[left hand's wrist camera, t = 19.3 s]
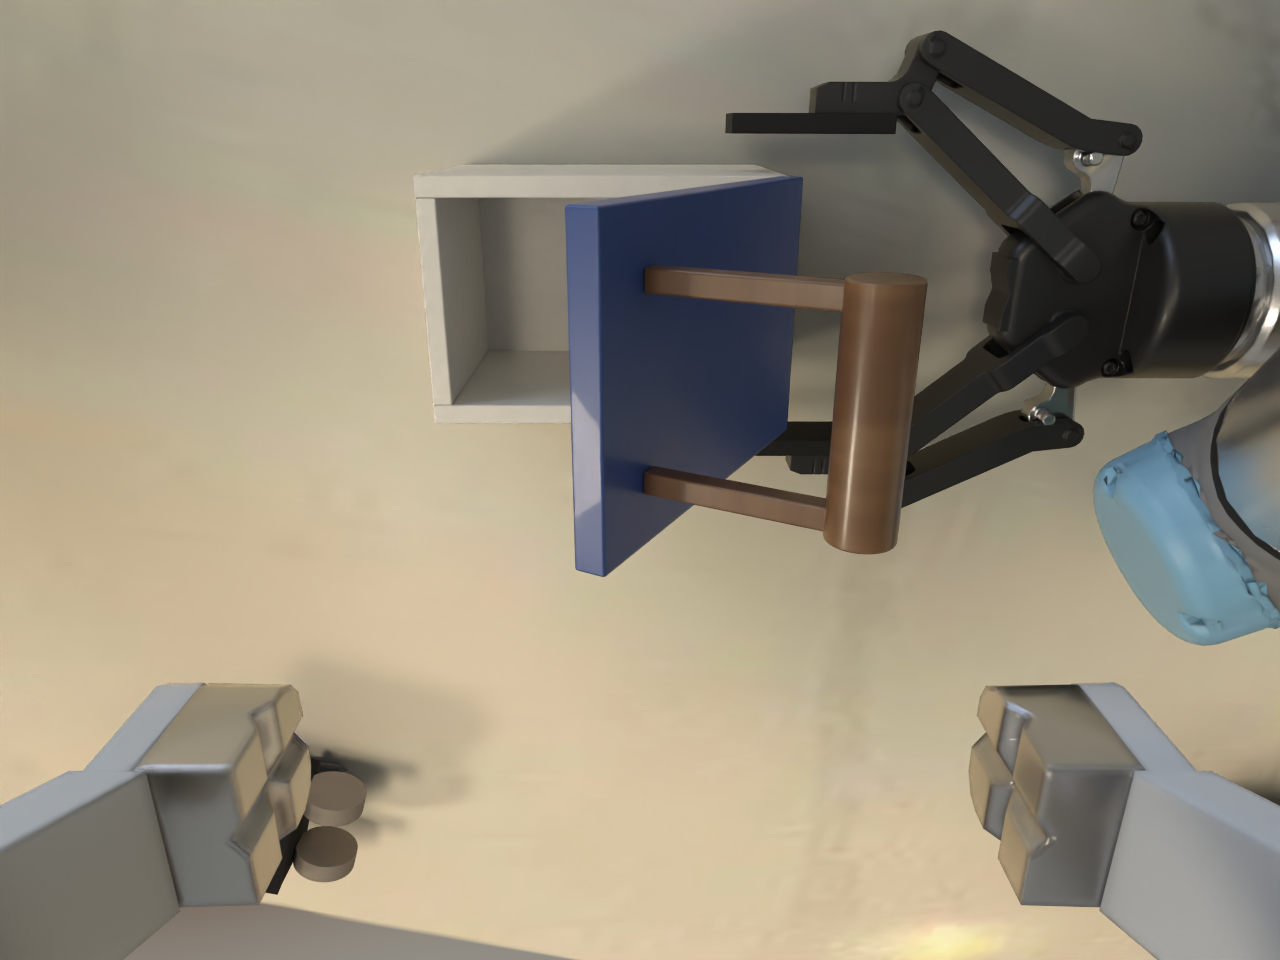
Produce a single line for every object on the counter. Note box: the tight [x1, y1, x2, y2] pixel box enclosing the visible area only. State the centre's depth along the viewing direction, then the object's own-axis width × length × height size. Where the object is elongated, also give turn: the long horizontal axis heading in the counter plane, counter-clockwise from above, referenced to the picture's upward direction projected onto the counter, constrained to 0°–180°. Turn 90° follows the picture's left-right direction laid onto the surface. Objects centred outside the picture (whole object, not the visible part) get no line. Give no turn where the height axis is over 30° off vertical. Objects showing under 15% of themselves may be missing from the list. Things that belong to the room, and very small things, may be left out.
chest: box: [413, 164, 787, 423], centre depth 41 cm, size 14×10×11 cm
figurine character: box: [265, 759, 366, 895], centre depth 54 cm, size 7×8×15 cm
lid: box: [565, 176, 927, 577], centre depth 28 cm, size 15×10×8 cm
